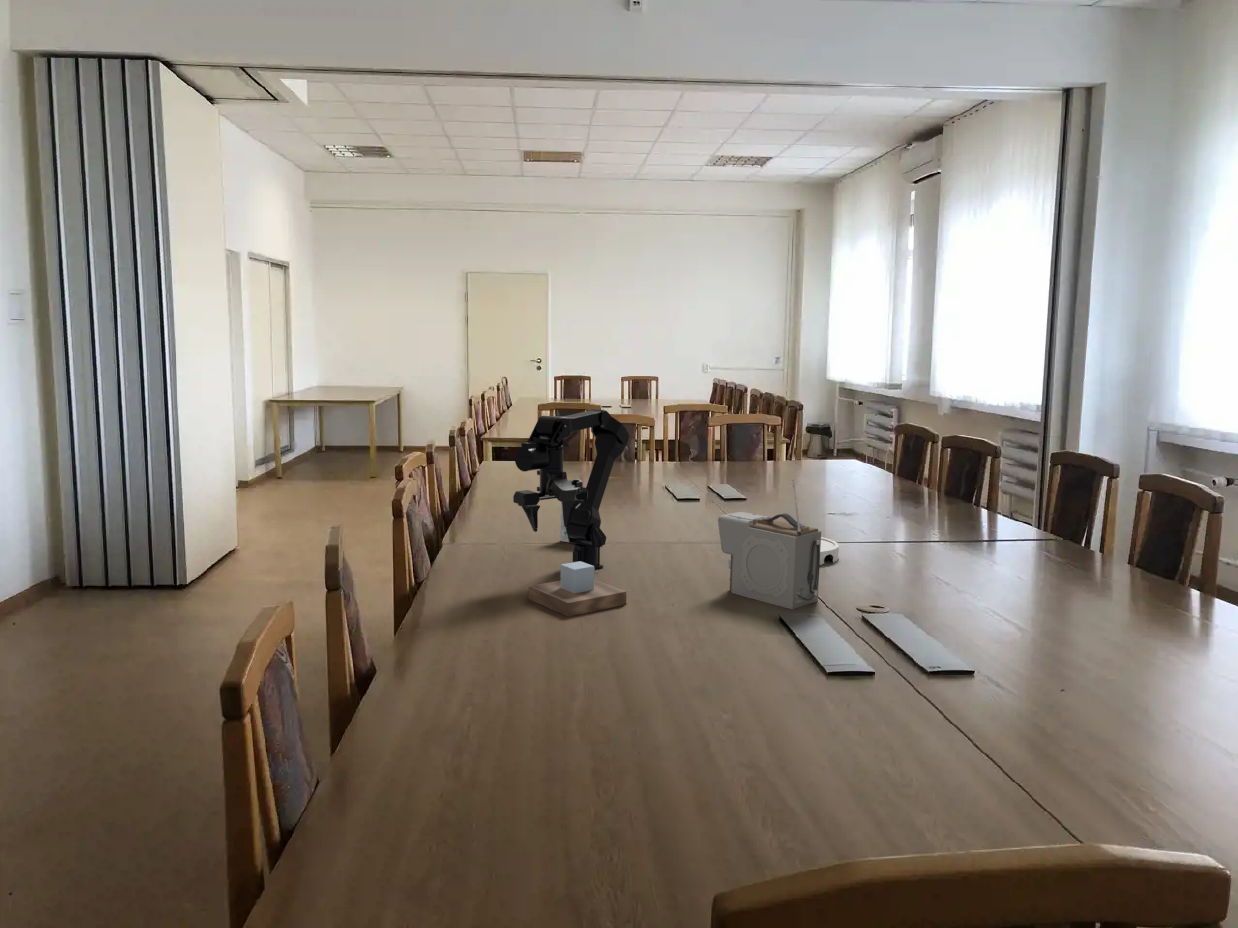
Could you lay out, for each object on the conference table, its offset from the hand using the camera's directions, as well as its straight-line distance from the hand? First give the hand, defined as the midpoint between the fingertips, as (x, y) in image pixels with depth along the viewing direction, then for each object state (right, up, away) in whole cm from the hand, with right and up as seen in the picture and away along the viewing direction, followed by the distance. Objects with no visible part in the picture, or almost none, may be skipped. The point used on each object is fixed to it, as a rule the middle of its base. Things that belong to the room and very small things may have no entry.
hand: (551, 529), depth 225 cm
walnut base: (+7, -15, -17) cm, 24 cm away
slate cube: (+7, -12, -18) cm, 23 cm away
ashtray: (+67, -10, +31) cm, 74 cm away
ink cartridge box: (+5, -7, +42) cm, 43 cm away
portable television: (+52, -15, -9) cm, 55 cm away
